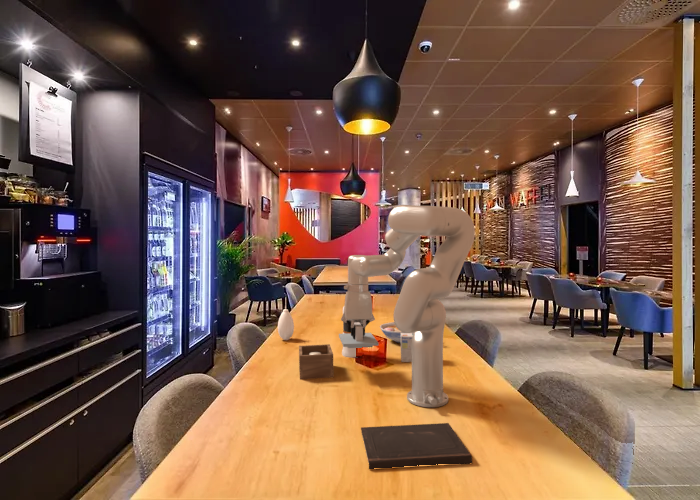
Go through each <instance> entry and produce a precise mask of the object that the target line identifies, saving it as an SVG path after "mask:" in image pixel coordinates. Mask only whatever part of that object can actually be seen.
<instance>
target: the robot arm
mask: <svg viewBox="0 0 700 500" xmlns="http://www.w3.org/2000/svg"><path fill="white" fill-rule="evenodd" d="M387 222H388V226H389V228H390V229H389V230H387V232H386V233H385V235H384V239H385V243H386V244H387V246H388V247H389V249H388V250H387V251H386V252H385V253H384V254H371V255H364V254H353V255H349V256H348V259H347V284H346V285H344V286H343V289H344V290H347V291H346V292H345V297H344V305H343V307H344V314H343V313H342V316H341V318H340V321H341V322H342V323H343V322H345V323H347V324H348V325H349V326H350V327H351V336H352V337H353V339H355V326H354V320H362V327H363V338H364V335H365V333H366V327H367V326H368V325H369V324H370V323H372V322H373V321H376V318H375V316H374V314H373V300H372V294H371V292H370V291H369V278H371V277H373V278H374V277H379V276H380V277H382V276H388V275H390V274H391V273H393V272H394V271H395V270H396V269H398V267H400V266H401V264H403V262H404V260H405V258H406V253H407V251H406V250H407V249H409V247H410V246H411V245H412V244H413V243H414V242H415V241H417V239H418V238H419V237H421V236H422V237H445V239H444V241H443V242H442V243H441V244H440V246H439V247H438V248H437V249H436V251H435V253H434V255H433V259H432V261H431V263H430V265H429V266H428V267H424V268H416V269H414V270H413V271H411V272H410V273H409V274H408V275H407V277H406V278H405V279H404V283H403V285H402V287H401V290H400V293H399V296H398V297H397V298H398V299H397V300H396V304H395V306H394V310H393V322H394V323H395V325H396V327H397V328H398V329H399V330H400V331H401V332H404V333H413V337H412V362H411V390H410V391H408V392H407V393H406V399H407V401H408V402H410V403H411V405H416V406H418V407H422V408H423V407H424V408H438V407H442V406H446V405H447V404H448V403H449V395H448V394H447V393H445V392H444V332H445V324H446V319H447V313H446V312H447V311H446V307H445V305H444V304H443V303H442V302H441V301H440V300H441V299H445V298H448V297H449V296H450V295H451V294H452V292H453V289H454V287H455V285H456V283H457V280H458V278H459V275H460V274H461V271H462V268H463V266H464V263H465V261H466V259H467V257H468V255H469V253H470V252H471V249H472V246H473V244H474V241H475V237H476V236H475V235H476V228H475V224H474V222H473V219H472V217H471V216H470V215H469V213H467V212H466V211H464V210H462V209H460V208H457V207H450V206H438V205H436V206H435V205H412V204H399V205H396V206H395V207H393V208H392V209H391V211H390V212H389V214H388V221H387ZM349 320H350V321H349Z"/></svg>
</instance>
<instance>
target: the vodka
mask: <svg viewBox="0 0 700 500" xmlns="http://www.w3.org/2000/svg"><path fill="white" fill-rule="evenodd" d="M343 314H344V306H342V315H343ZM349 321H350V320H349ZM354 322H359V323H360V324H361V325H362V320H354ZM342 323H343V324H342V325H343V326H342V328H343V329H342V330H343V331H342V334H348V333H351V327H350V326H349V325H348V324H347V323H345V322H343V321H342ZM341 355H342V356H343V357H345V358H357V357H356V348H348V347H343V346H342V350H341Z"/></svg>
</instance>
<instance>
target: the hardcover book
mask: <svg viewBox="0 0 700 500" xmlns="http://www.w3.org/2000/svg"><path fill="white" fill-rule="evenodd" d="M360 430H361V436H362V437H361V438H362V442H363V441H364V442H363V446H364V450H366V451H365V453H366V458H367V463H369V464H368V470H369V469H374V468H392V467H404V466H417V465H418V466H419V465H436V464H437V465H438V464H461V465H471V464H470V463H472V464H473V457H472V454H471V453H470V451H469V450H468V448H467V447H466V445H465V444H464V443H463V441H462V440H461V439H460V437H459V436H458V434H457V433H456V432H455V430H454V429H453V427H452V426H451V425H450V424H449V422H443V423H440V422H439V423H425V424H423V423H422V424H401V425H383V426H365V427H364V426H363V427H360Z"/></svg>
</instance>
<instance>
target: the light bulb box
mask: <svg viewBox="0 0 700 500" xmlns="http://www.w3.org/2000/svg"><path fill="white" fill-rule="evenodd" d="M412 337H413V333H401V343H400V362H401V363H412Z"/></svg>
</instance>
